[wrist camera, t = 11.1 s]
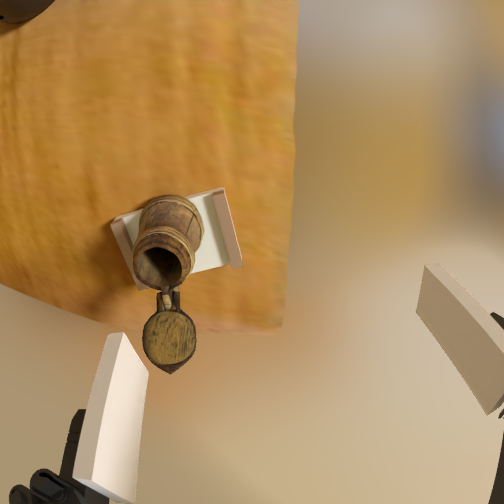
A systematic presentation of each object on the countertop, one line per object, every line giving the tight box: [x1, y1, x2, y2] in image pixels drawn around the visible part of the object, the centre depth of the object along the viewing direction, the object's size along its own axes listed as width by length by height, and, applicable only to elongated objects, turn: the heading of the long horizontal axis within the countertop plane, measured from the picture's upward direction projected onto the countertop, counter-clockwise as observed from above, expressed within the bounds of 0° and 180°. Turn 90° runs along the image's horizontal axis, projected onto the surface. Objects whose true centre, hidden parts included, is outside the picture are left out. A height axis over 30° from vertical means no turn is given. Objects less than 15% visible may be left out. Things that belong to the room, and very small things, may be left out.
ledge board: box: [110, 187, 243, 291], centre depth 41 cm, size 11×16×3 cm
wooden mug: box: [132, 195, 204, 374], centre depth 33 cm, size 9×14×18 cm, turn 3°
